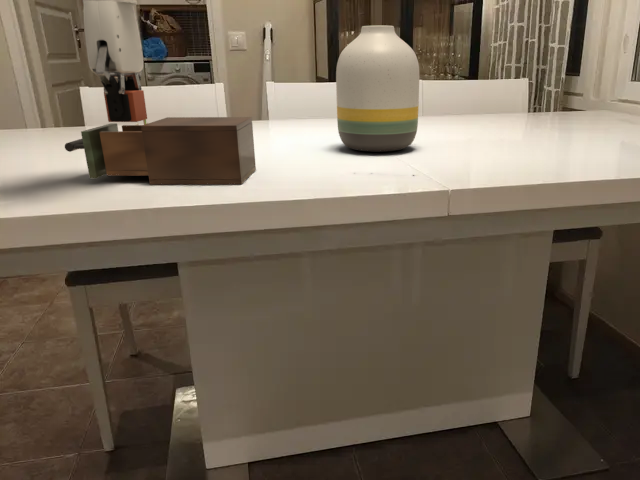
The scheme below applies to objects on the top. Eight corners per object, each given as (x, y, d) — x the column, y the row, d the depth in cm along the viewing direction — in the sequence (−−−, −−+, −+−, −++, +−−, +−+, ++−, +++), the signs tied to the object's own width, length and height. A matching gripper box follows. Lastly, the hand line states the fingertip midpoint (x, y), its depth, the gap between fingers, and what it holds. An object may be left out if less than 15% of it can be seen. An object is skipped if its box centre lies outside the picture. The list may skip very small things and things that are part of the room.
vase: (326, 154, 113) (322, 25, 105) (352, 142, 129) (350, 28, 120) (407, 157, 109) (410, 23, 100) (424, 144, 124) (428, 27, 115)
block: (108, 121, 88) (103, 91, 86) (120, 118, 92) (116, 90, 90) (136, 122, 88) (132, 92, 86) (147, 118, 92) (143, 90, 90)
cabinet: (149, 184, 88) (140, 125, 84) (173, 170, 99) (166, 117, 95) (241, 184, 88) (236, 125, 84) (255, 170, 98) (251, 117, 95)
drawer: (63, 178, 88) (53, 131, 86) (93, 166, 98) (85, 123, 95) (174, 178, 88) (167, 131, 85) (193, 165, 98) (188, 123, 95)
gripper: (109, -2, 91) (126, 114, 98) (53, -14, 75) (79, 125, 82) (154, -2, 91) (168, 114, 98) (109, -14, 75) (129, 125, 82)
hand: (127, 118), depth 90 cm, fingers closed on block, 4 cm apart
